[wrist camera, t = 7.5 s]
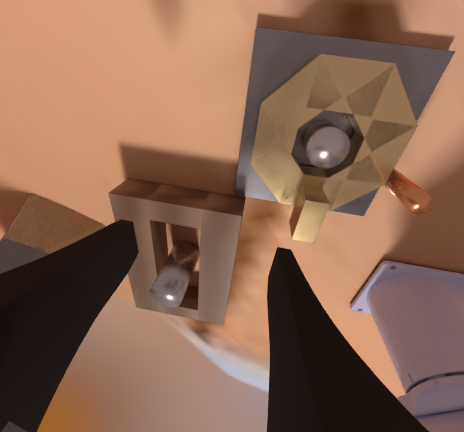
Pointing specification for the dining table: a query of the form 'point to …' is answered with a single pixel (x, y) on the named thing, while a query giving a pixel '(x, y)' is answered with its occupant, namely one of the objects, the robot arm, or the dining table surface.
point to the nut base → (330, 122)
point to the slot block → (155, 242)
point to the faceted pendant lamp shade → (361, 146)
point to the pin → (175, 275)
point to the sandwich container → (42, 231)
